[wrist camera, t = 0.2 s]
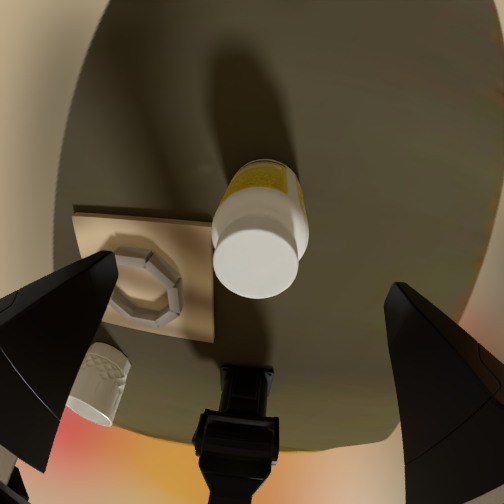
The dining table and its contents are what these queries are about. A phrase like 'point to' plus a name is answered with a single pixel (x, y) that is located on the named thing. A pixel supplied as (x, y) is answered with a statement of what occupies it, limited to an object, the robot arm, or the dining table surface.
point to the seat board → (141, 282)
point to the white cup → (99, 384)
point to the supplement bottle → (260, 230)
